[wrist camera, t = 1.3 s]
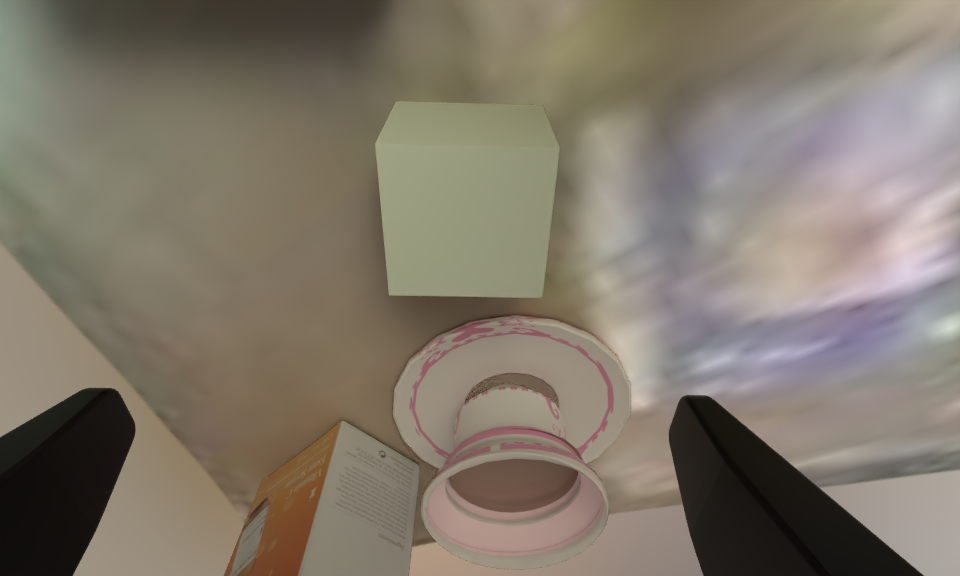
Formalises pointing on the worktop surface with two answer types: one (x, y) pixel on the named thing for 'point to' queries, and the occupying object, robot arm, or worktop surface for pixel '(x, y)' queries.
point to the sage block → (466, 198)
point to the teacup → (513, 439)
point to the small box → (332, 512)
